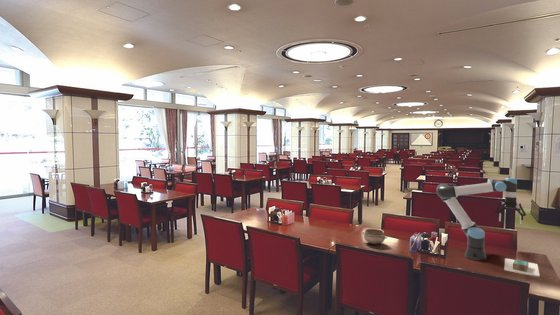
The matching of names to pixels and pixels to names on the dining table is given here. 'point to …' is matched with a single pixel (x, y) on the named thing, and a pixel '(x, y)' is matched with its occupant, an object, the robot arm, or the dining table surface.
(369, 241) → the cooking pot
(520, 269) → the walnut plaque
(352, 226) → the dining table surface
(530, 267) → the cream white flat board
